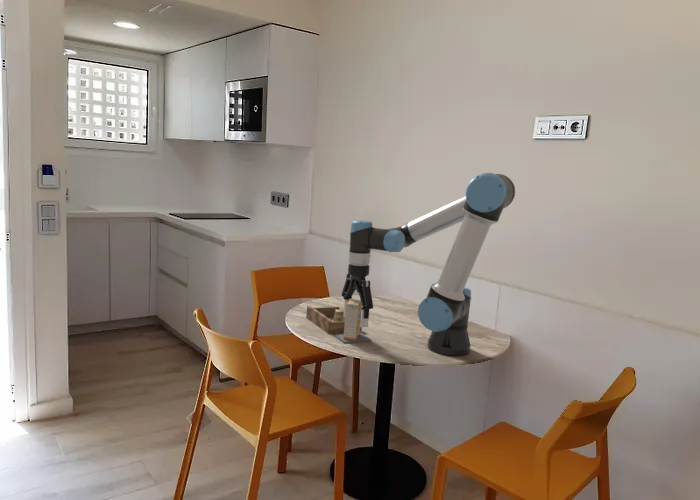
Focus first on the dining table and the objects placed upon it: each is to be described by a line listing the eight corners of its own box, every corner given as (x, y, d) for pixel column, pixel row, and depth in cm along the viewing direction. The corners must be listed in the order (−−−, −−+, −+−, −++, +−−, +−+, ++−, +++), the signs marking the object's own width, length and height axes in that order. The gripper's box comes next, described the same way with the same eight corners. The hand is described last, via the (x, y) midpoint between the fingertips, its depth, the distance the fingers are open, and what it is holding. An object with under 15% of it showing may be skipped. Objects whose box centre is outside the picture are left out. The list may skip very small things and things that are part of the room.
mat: (371, 341, 205) (371, 339, 205) (344, 343, 200) (344, 341, 200) (361, 334, 212) (361, 332, 212) (334, 336, 207) (334, 334, 207)
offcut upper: (352, 316, 226) (353, 310, 225) (353, 318, 223) (353, 312, 222) (335, 315, 225) (335, 309, 225) (335, 317, 223) (335, 311, 222)
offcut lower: (354, 326, 222) (355, 319, 222) (348, 328, 220) (348, 320, 220) (339, 321, 229) (340, 313, 228) (333, 322, 227) (333, 314, 226)
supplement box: (356, 340, 202) (359, 305, 200) (343, 338, 203) (345, 303, 201) (360, 334, 210) (363, 299, 208) (347, 332, 211) (350, 298, 209)
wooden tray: (361, 331, 216) (362, 318, 215) (327, 333, 210) (328, 320, 209) (337, 315, 235) (338, 304, 234) (306, 317, 229) (307, 305, 228)
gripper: (385, 270, 192) (381, 330, 196) (352, 257, 214) (349, 312, 218) (366, 270, 189) (362, 332, 192) (334, 258, 211) (331, 313, 214)
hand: (355, 321), depth 205 cm, fingers open, 13 cm apart
